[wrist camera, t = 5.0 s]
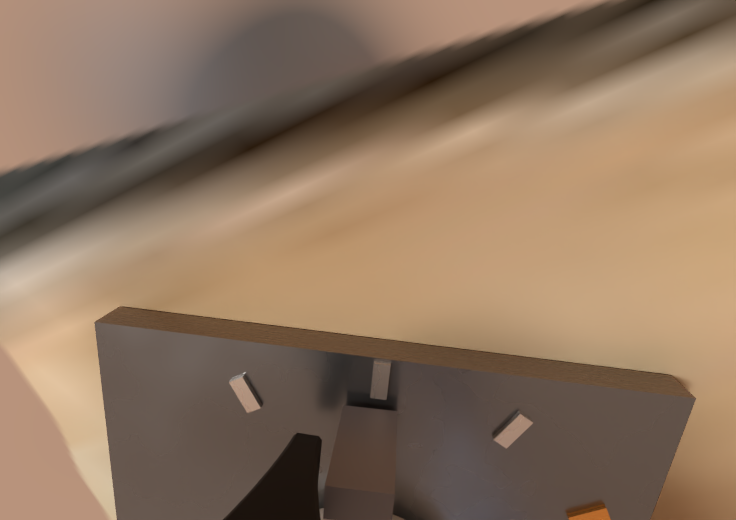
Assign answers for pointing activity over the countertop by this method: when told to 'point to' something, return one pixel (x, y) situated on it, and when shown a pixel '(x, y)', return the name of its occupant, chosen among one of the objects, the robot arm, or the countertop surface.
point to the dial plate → (386, 392)
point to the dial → (362, 467)
